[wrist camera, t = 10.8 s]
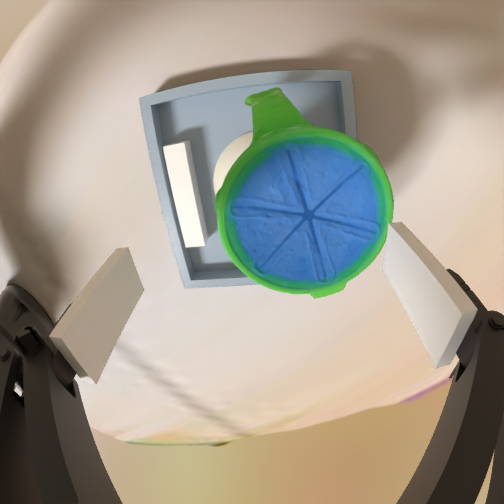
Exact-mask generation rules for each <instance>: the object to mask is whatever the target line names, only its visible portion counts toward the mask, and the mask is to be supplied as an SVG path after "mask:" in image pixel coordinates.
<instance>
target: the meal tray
mask: <svg viewBox="0 0 504 504" xmlns="http://www.w3.org/2000/svg"><path fill="white" fill-rule="evenodd" d="M275 87H278V88H280V89H281V90H282V92H283V93H284V94H285V96H286V97H287V98H288V99H289V100H290V101H291V103H292V104H293V105H294V106H295V107H296V109H297V110H298V111H299V112H300V114H301V115H302V116H303V117H304V119H305V120H306V121H307V122H309V123H310V124H312V125H314V126H318V127H325V128H330V129H333V130H336V131H339V132H341V133H344V134H346V135H348V136H350V137H352V138H354V139H355V140H357V128H356V113H355V101H354V90H353V81H352V72H351V70H289V71H274V72H263V73H253V74H245V75H238V76H231V77H225V78H219V79H213V80H208V81H203V82H198V83H193V84H189V85H184V86H180V87H176V88H172V89H168V90H164V91H161V92H157V93H154V94H150V95H147V96H144V97H140V98H139V101H140V107H141V114H142V119H143V125H144V131H145V136H146V141H147V146H148V151H149V156H150V161H151V166H152V170H153V175H154V179H155V183H156V188H157V192H158V196H159V200H160V204H161V208H162V212H163V216H164V220H165V224H166V227H167V231H168V235H169V238H170V242H171V246H172V249H173V253H174V256H175V259H176V263H177V266H178V269H179V273H180V276H181V279H182V282H183V285H184V288H206V287H225V286H243V285H259V283H257V282H255V281H253V280H251V279H250V278H249V277H247V276H246V275H245V274H244V273H243V272H242V271H241V270H240V269H239V268H238V267H237V266H236V265H235V264H234V263H233V261H232V260H231V259H230V257H229V256H228V254H227V252H226V250H225V249H224V247H223V244H222V242H221V239H220V235H219V230H218V224H217V212H216V211H215V210H214V208H215V199H216V194H217V192H218V190H219V189H220V188H221V187H222V184H223V182H224V179H225V177H226V175H227V173H228V171H229V170H230V168H231V166H232V165H233V164H234V162H235V161H236V160H237V159H238V157H239V156H240V155H241V154H242V153H243V152H244V151H245V150H246V149H247V148H248V147H249V146H250V144H251V142H252V139H253V123H252V109H251V106H247V105H245V104H244V102H245V99H246V98H247V97H248V96H250V95H252V94H256V93H260V92H262V91H266V90H268V89H271V88H275Z"/></svg>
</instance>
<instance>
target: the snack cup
mask: <svg viewBox="0 0 504 504" xmlns="http://www.w3.org/2000/svg"><path fill="white" fill-rule="evenodd" d="M244 104H245V105H247V106H251V109H252V123H253V139H252V142H251V144H250V146H249V147H248V148H247V149H246V150H245V151H244V152H243V153H242V154H241V155H240V156H239V157H238V159H237V160H236V161H235V162H234V164H233V165H232V166H231V168H230V170H229V171H228V173H227V175H226V177H225V179H224V182H223V184H222V187H221V188H220V189H219V190H218V192H217V194H216V199H215V208H214V210H215V211H216V212H217V224H218V230H219V235H220V239H221V242H222V244H223V247H224V249H225V250H226V252H227V254H228V256H229V257H230V259H231V260H232V261H233V263H234V264H235V265H236V266H237V267H238V268H239V269H240V270H241V271H242V272H243V273H244V274H245V275H246V276H247V277H249V278H250V279H251V280H253V281H255V282H257V283H259V284H261V285H263V286H265V287H267V288H270V289H273V290H276V291H280V292H285V293H291V294H310V295H311V296H313V297H314V299H315V298H320V297H324V296H328V295H331V294H334V293H336V292H339V291H341V290H343V289H344V288H345V285H346V283H347V282H348V281H349V280H351V279H353V278H354V277H356V276H357V275H359V274H360V273H361V272H362V271H363V270H365V269H366V268H367V267H368V266H369V265H370V264H371V263H372V262H373V260H375V258H376V257H377V255H378V254H379V253H380V251H381V249H382V247H383V245H384V243H385V241H386V239H387V232H388V223H392V219H393V203H394V200H393V194H392V189H391V185H390V182H389V180H388V177H387V175H386V173H385V171H384V169H383V167H382V165H381V164H380V162H379V161H378V157H377V155H376V154H375V153H374V152H373V150H372V149H371V148H370V147H369V146H367V145H363V144H361V143H360V142H358V141H357V140H355V139H354V138H352V137H350V136H348V135H346V134H344V133H341V132H339V131H336V130H333V129H330V128H325V127H318V126H314V125H312V124H310V123H309V122H307V121H306V120H305V119H304V117H303V116H302V115H301V114H300V112H299V111H298V110H297V109H296V107H295V106H294V105H293V104H292V103H291V101H290V100H289V99H288V98H287V97H286V96H285V94H284V93H283V92H282V90H281V89H280V88H278V87H275V88H271V89H268V90H266V91H262V92H260V93H256V94H252V95H250V96H248V97H247V98H246V99H245V102H244Z"/></svg>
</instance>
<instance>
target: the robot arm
mask: <svg viewBox="0 0 504 504" xmlns="http://www.w3.org/2000/svg"><path fill="white" fill-rule="evenodd" d="M382 271H383V272H384V274H385V276H386V277H387V279H388V281H389V282H390V284H391V286H392V288H393V289H394V291H395V293H396V294H397V296H398V298H399V300H400V301H401V303H402V305H403V307H404V309H405V310H406V312H407V314H408V316H409V318H410V320H411V321H412V323H413V325H414V327H415V329H416V331H417V333H418V335H419V337H420V339H421V341H422V343H423V345H424V347H425V349H426V351H427V353H428V355H429V357H430V360H431V362H432V364H433V366H434V368H435V369H436V368H439V367H442V366H445V365H448V364H450V363H451V361H452V360H453V358H454V356H455V354H457V356H458V358H459V362H458V363H457V365H456V367H455V368H454V370H453V372H452V373H451V375H450V377H449V378H452V376H453V375H454V377H453V380H452V384H451V387H450V391H449V393H448V396H447V399H446V402H445V405H444V408H443V411H442V414H441V416H440V419H439V422H438V424H437V427H436V429H435V431H434V434H433V437H432V439H431V441H430V443H429V445H428V447H427V450H426V452H425V454H424V456H423V458H422V460H421V462H420V464H419V466H418V468H417V470H416V472H415V473H414V475H413V477H412V479H411V481H410V482H409V484H408V486H407V487H406V489H405V491H404V492H403V494H402V496H401V497H400V499H399V500H398V502H397V503H396V504H474V503H475V501H476V499H477V496H478V494H479V492H480V489H481V487H482V484H483V482H484V479H485V477H486V474H487V471H488V468H489V465H490V462H491V459H492V456H493V452H494V460H493V467H492V474H491V480H490V485H489V491H488V495H487V499H486V503H485V504H504V315H502V314H501V313H499V312H497V311H487V309H486V308H485V307H484V305H483V304H482V303H481V301H480V300H479V299H478V298H477V296H476V295H475V294H474V292H473V291H472V290H470V288H469V286H468V285H467V284H465V282H464V280H463V279H462V278H461V277H460V276H459V275H458V274H457V273H455V272H454V271H452V270H451V269H445V268H444V267H443V266H442V264H441V263H440V262H439V261H438V260H437V259H436V258H435V257H434V255H433V254H432V253H431V252H430V251H429V250H428V249H427V248H426V247H425V246H424V245H423V244H422V242H421V241H420V240H419V239H418V238H417V237H416V236H415V235H414V234H413V233H412V232H411V231H410V230H409V229H408V228H407V227H406V226H405V225H404V224H403V223H402V222H397V223H388V232H387V241H386V249H385V256H384V263H383V270H382ZM143 291H144V288H143V286H142V283H141V281H140V278H139V275H138V273H137V270H136V267H135V265H134V262H133V259H132V257H131V254H130V251H129V248H128V247H127V248H118V249H116V250H115V251H114V252H113V254H112V255H111V256H110V257H109V258H108V259H107V261H106V262H105V263H104V264H103V265H102V266H101V268H100V269H99V270H98V271H97V272H96V274H95V275H94V276H93V277H92V279H91V280H90V281H89V282H88V284H87V285H86V286H85V287H84V289H83V290H82V291H81V293H80V294H79V295H78V296H77V298H76V299H75V300H74V302H73V303H71V304H70V305H69V306H68V308H67V309H66V310H65V312H64V314H62V316H61V317H60V318H59V320H58V321H57V323H56V324H55V326H53V323H52V322H51V320H50V318H49V316H48V315H47V313H46V312H45V311H44V309H43V308H42V307H41V306H40V304H39V303H38V302H37V301H36V300H35V299H34V298H33V297H32V296H31V295H30V294H29V293H28V292H26V291H25V290H24V289H22V288H20V287H19V286H16V285H9V286H7V287H6V288H5V290H4V291H3V292H2V293H1V295H0V504H122V502H121V500H120V498H119V496H118V494H117V492H116V490H115V488H114V486H113V484H112V482H111V480H110V478H109V475H108V473H107V471H106V469H105V467H104V464H103V462H102V459H101V457H100V455H99V452H98V449H97V446H96V444H95V441H94V438H93V435H92V432H91V430H90V426H89V423H88V420H87V417H86V414H85V410H84V407H83V403H82V400H81V396H80V392H79V388H78V384H77V382H76V381H75V379H74V377H75V375H76V373H77V375H78V376H79V377H80V378H81V379H82V381H83V382H87V383H91V384H97V382H98V380H99V378H100V376H101V373H102V371H103V369H104V367H105V365H106V363H107V361H108V358H109V356H110V354H111V352H112V350H113V348H114V346H115V344H116V342H117V340H118V338H119V336H120V334H121V332H122V330H123V328H124V326H125V324H126V323H127V321H128V319H129V317H130V315H131V313H132V311H133V309H134V308H135V306H136V304H137V302H138V300H139V298H140V297H141V295H142V293H143ZM16 386H17V387H18V389H19V390H20V391H22V396H19V395H18V394H17V393H16V392H15V391H14V389H15V388H16ZM494 449H495V451H494Z"/></svg>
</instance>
